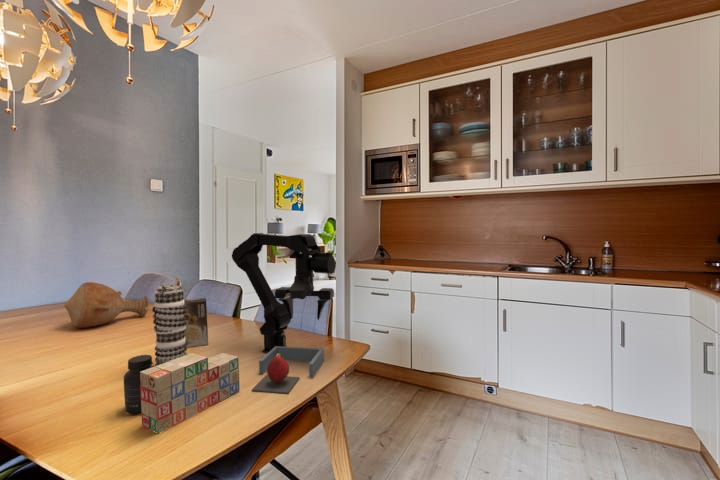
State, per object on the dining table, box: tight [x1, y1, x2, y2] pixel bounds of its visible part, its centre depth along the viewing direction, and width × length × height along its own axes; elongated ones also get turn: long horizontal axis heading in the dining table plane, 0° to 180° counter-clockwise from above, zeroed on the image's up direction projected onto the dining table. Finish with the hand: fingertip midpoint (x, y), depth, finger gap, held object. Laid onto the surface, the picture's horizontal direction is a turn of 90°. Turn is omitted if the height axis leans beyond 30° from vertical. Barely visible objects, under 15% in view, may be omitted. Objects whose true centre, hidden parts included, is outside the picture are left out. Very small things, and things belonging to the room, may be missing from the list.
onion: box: [266, 354, 290, 383], centre depth 94 cm, size 6×6×8 cm
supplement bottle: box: [123, 354, 155, 416], centre depth 82 cm, size 7×7×12 cm
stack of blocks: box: [140, 352, 240, 434], centre depth 82 cm, size 21×6×12 cm, turn 150°
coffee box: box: [184, 297, 209, 349], centre depth 126 cm, size 9×6×16 cm
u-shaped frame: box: [258, 346, 325, 379], centre depth 105 cm, size 16×12×4 cm
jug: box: [63, 281, 149, 329], centre depth 153 cm, size 20×19×30 cm
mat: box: [251, 374, 301, 395], centre depth 94 cm, size 10×9×1 cm
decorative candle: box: [151, 284, 188, 367], centre depth 105 cm, size 9×9×25 cm
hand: (304, 319), depth 115 cm, fingers open, 9 cm apart
